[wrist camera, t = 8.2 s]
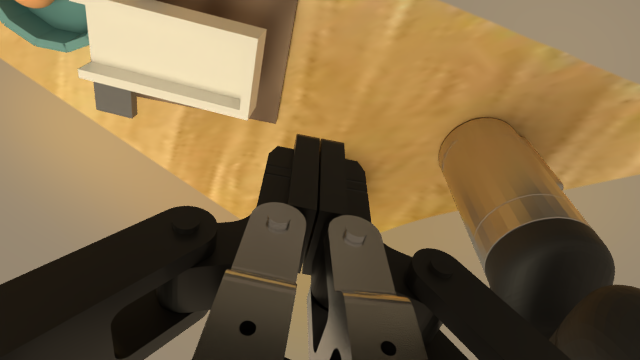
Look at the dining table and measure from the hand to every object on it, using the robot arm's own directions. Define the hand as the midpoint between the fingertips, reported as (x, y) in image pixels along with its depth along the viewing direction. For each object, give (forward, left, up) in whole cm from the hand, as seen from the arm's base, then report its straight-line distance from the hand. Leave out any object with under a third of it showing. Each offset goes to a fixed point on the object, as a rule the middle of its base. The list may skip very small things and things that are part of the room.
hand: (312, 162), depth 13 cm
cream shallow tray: (+11, +9, -25) cm, 29 cm away
